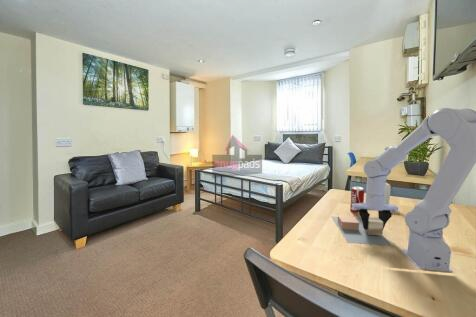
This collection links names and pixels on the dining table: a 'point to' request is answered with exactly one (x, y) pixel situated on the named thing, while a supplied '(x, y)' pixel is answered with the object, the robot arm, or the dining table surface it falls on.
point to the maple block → (375, 226)
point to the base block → (348, 222)
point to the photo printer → (387, 194)
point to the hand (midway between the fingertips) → (372, 229)
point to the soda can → (356, 197)
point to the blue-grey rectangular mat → (361, 235)
